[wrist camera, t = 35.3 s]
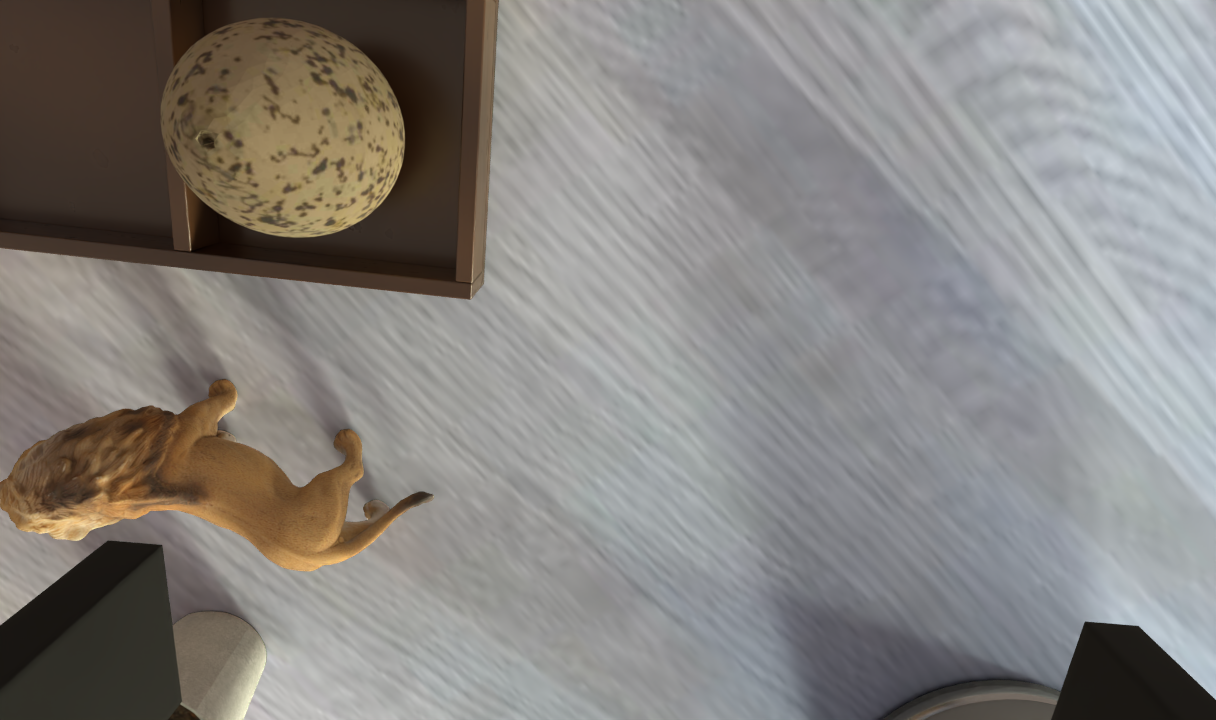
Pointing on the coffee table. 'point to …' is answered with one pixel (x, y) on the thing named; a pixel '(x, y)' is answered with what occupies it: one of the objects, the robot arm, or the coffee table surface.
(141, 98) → the sorting tray
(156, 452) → the lion figurine
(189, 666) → the house plant
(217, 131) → the decorative egg
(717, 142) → the coffee table surface
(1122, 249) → the coffee table surface
